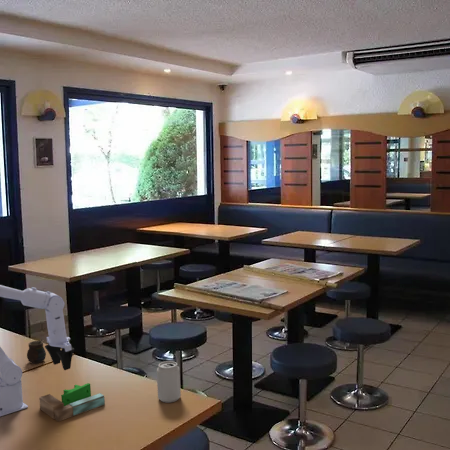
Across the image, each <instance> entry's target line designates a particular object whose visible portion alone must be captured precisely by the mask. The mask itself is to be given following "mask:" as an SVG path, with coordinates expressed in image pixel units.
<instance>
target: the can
mask: <svg viewBox="0 0 450 450" xmlns="http://www.w3.org/2000/svg"><path fill="white" fill-rule="evenodd" d="M156 380H157V381H156V383H157V385H156V386H157V398H158V400H159V401H161V402H163V403H167V404H168V403H175V402H177V401H178V400H179V399H180V398H181V396H182V394H181V373H180V366H179V365H178V363H177V362H176V361H172V360H167V361H162V362H160V363H159V364H158V367H157V368H156Z"/></svg>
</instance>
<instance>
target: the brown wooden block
mask: <svg viewBox="0 0 450 450" xmlns="http://www.w3.org/2000/svg"><path fill="white" fill-rule="evenodd" d="M63 406H64V403H63V402H62V400H60V399H58V398H57V397H55V396H53V395H52V394H50V393H49V394H46V395H42V396H39V409H40V410H41V411H42V412H43V413H45V414H46V415H47V416H49V417H50V418H51V419H53V420H55V416H54V410H55V409H57V408H60V407H63Z"/></svg>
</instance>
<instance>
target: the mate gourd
mask: <svg viewBox="0 0 450 450" xmlns="http://www.w3.org/2000/svg"><path fill="white" fill-rule="evenodd" d="M45 349H46V348H45V346H44V341H43V339H41V340H33V341H30V342H29V343H28V350H27V353H26V357H27V361H28V362H29V363H30V364H33V365H37V364H41V363H43V361H45V359H46V355H47V352H46V350H45Z"/></svg>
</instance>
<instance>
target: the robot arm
mask: <svg viewBox="0 0 450 450" xmlns="http://www.w3.org/2000/svg"><path fill="white" fill-rule="evenodd" d="M0 298H4V299H11V300H15V301H16V300H17V301H20V302H21V304H22V305H23V306H26V307H30V308H33V309H34V308H35V309H39V310H43V309H44V312H45V320H46V327H47V332H48V333H47V334H48V336H46V338H45V339H46V343H48V344H46V345H44V349H46V351H47V352H48V354H49V356H50V359H51V361H52V363H53V365H54V366H56V365H58V364H60V363H61V366H62V369H63V371H68V370H70V369H71V366H72V358H73V355H74V352H75V348H74V347H73V346H72V344H71V343H70V340H71V337H69V336H68V335H67V330H66V324H65V323H66V322H65V314H64V310H63V309H64V307H65V306H66V305H65V301H64V299H63V297H61V296H60V295H58V294H56V293H54V292H52V291H49V290H46V291H43V290H40V289H39V290H38V288H37V287H33V286H31V288H30V287H27V288H25V289H24V290H21V289H17V288H13V287H9V286H5V285H3V284H0ZM22 377H23V369H22V368H21V366H19V365H17V363H16V362H15V361H14V360H13V359H12V358H10V357H9V356H8V355H7V354H6V352H5V351H4V350H3V348H2V347H1V346H0V417H3V416H6V415H9V414H12V413H16V412H18V411H21V410H24V409H27V408H28V407H29V405H27V404H26V403H24V398H23V386H22V384H23V383H22Z"/></svg>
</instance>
